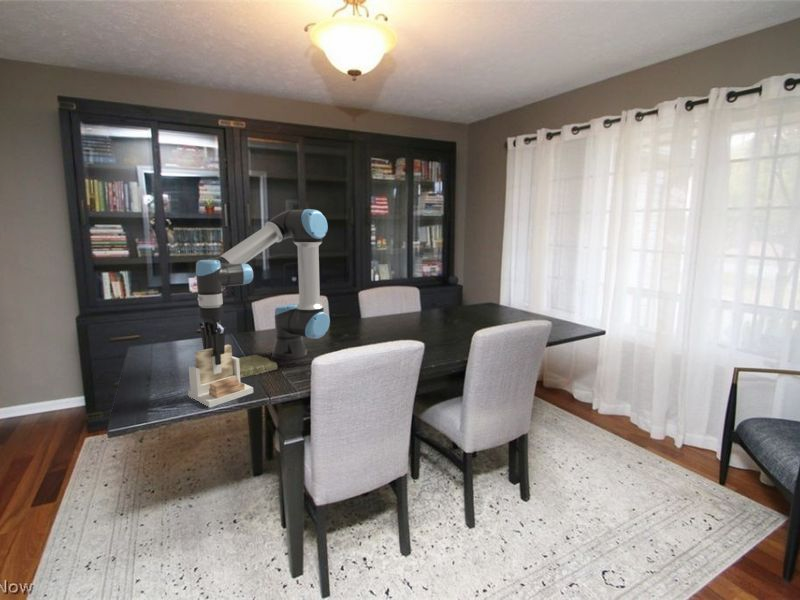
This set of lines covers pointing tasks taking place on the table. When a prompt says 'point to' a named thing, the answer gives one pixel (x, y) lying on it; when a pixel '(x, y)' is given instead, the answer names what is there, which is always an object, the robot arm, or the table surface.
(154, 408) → the table surface
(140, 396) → the table surface
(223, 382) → the offcut upper
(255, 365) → the decorative tile
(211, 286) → the robot arm
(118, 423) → the table surface
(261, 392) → the table surface
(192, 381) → the board rack
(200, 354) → the birch board
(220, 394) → the offcut lower
